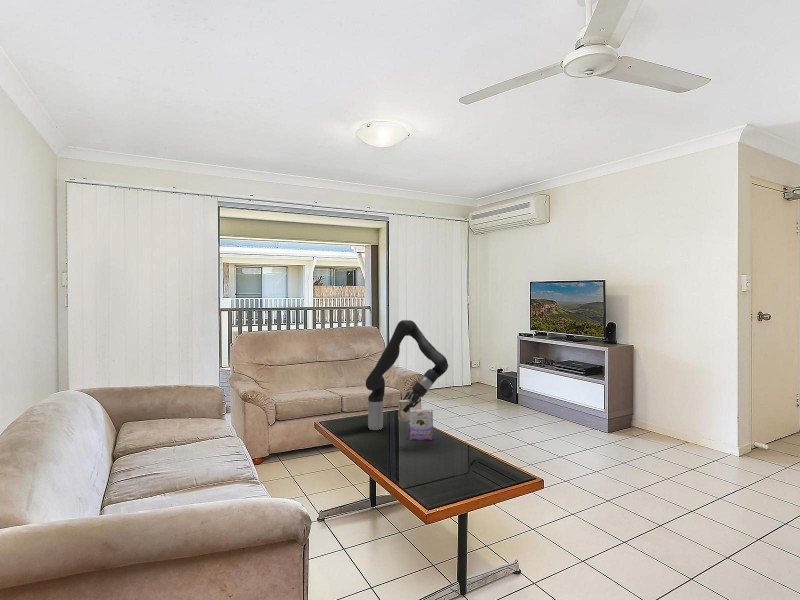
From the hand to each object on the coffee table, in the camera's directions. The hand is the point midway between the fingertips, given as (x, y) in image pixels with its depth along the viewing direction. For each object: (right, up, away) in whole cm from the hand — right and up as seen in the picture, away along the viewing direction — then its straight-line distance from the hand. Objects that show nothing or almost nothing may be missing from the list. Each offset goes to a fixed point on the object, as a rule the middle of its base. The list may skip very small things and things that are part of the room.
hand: (402, 410), depth 239 cm
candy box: (+11, -21, +19) cm, 30 cm away
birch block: (+1, -5, 0) cm, 5 cm away
